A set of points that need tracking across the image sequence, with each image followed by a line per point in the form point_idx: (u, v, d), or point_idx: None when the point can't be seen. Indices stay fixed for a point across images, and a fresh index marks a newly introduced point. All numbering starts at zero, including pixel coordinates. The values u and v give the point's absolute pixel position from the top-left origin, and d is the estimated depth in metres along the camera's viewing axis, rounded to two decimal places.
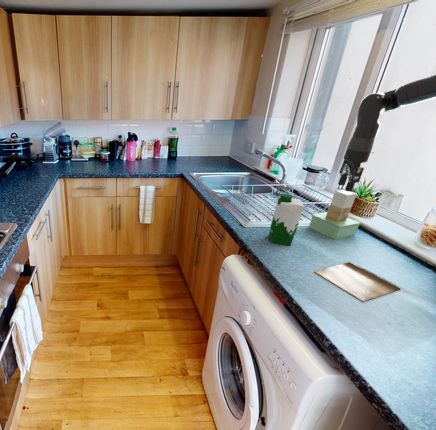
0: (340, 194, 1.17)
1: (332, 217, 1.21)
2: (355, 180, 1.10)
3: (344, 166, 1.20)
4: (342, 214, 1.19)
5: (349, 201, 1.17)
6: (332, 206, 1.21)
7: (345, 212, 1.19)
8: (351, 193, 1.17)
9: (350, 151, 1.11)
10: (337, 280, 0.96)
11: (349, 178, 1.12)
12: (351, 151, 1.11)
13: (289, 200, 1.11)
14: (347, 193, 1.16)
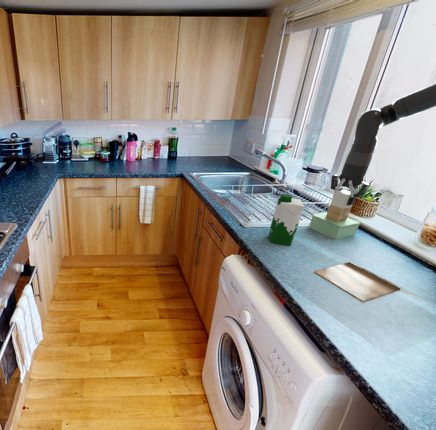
0: (340, 194, 1.17)
1: (332, 217, 1.21)
2: (360, 195, 1.13)
3: (335, 181, 1.21)
4: (342, 214, 1.19)
5: None
6: (332, 206, 1.21)
7: (345, 212, 1.19)
8: None
9: (356, 167, 1.10)
10: (337, 280, 0.96)
11: (352, 193, 1.14)
12: (357, 167, 1.10)
13: (289, 200, 1.11)
14: (347, 193, 1.16)
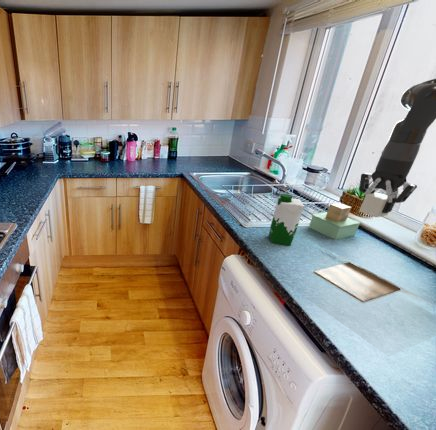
0: (373, 198, 0.89)
1: (332, 217, 1.21)
2: (402, 200, 0.85)
3: (365, 181, 0.93)
4: (342, 214, 1.19)
5: None
6: (332, 206, 1.21)
7: (345, 212, 1.19)
8: None
9: (397, 162, 0.83)
10: (337, 280, 0.96)
11: (391, 198, 0.87)
12: (399, 162, 0.82)
13: (289, 200, 1.11)
14: (383, 197, 0.89)
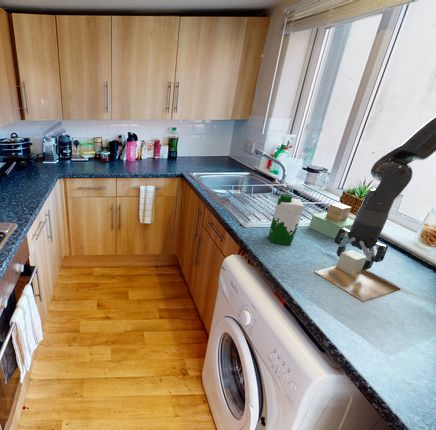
0: (347, 257, 0.99)
1: (332, 217, 1.21)
2: (380, 260, 0.92)
3: (341, 235, 1.02)
4: (342, 214, 1.19)
5: (358, 266, 0.98)
6: (332, 206, 1.21)
7: (345, 212, 1.19)
8: (361, 256, 0.98)
9: (368, 227, 0.91)
10: (337, 280, 0.96)
11: (369, 256, 0.94)
12: (370, 227, 0.91)
13: (289, 200, 1.11)
14: (356, 257, 0.98)
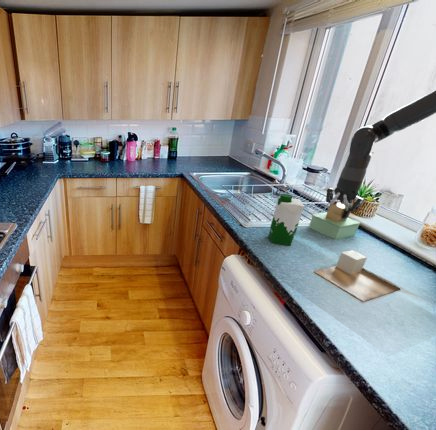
0: (347, 257, 0.99)
1: (332, 217, 1.21)
2: (355, 209, 1.15)
3: (330, 194, 1.23)
4: (342, 214, 1.19)
5: (358, 266, 0.98)
6: (332, 206, 1.21)
7: None
8: (361, 256, 0.98)
9: (350, 181, 1.13)
10: (337, 280, 0.96)
11: (347, 207, 1.17)
12: (351, 182, 1.13)
13: (289, 200, 1.11)
14: (356, 257, 0.98)
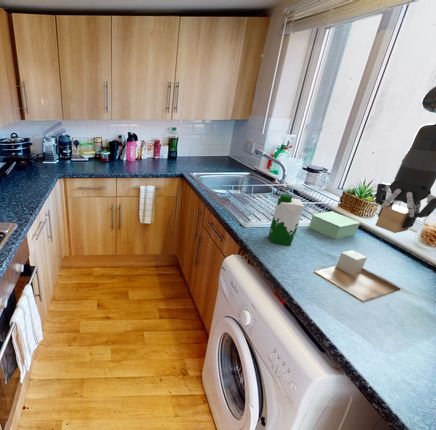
0: (347, 257, 0.99)
1: (386, 226, 0.81)
2: None
3: (382, 192, 0.83)
4: (403, 221, 0.79)
5: (358, 266, 0.98)
6: (387, 210, 0.81)
7: None
8: (361, 256, 0.98)
9: (420, 172, 0.73)
10: (337, 280, 0.96)
11: (412, 212, 0.77)
12: (423, 172, 0.73)
13: (289, 200, 1.11)
14: (356, 257, 0.98)
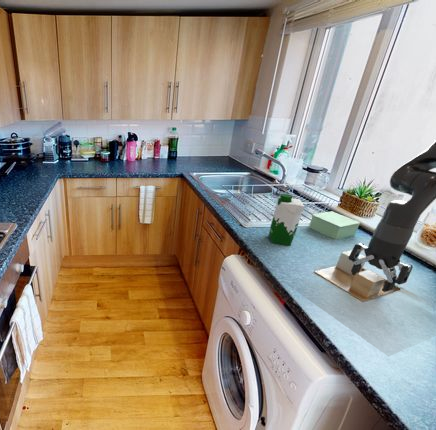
0: (347, 257, 0.99)
1: (359, 291, 0.89)
2: (403, 281, 0.81)
3: (357, 252, 0.90)
4: (374, 288, 0.87)
5: None
6: (359, 276, 0.89)
7: (377, 286, 0.87)
8: (361, 256, 0.98)
9: (390, 244, 0.80)
10: (337, 280, 0.96)
11: (390, 277, 0.83)
12: (392, 245, 0.80)
13: (289, 200, 1.11)
14: None
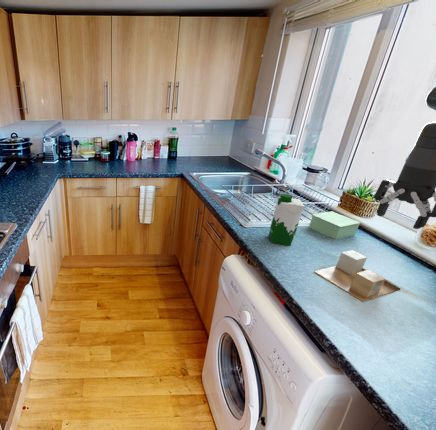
0: (347, 257, 0.99)
1: (359, 291, 0.89)
2: None
3: (384, 189, 0.82)
4: (374, 288, 0.87)
5: (358, 266, 0.98)
6: (359, 276, 0.89)
7: (377, 286, 0.87)
8: (361, 256, 0.98)
9: (425, 171, 0.71)
10: (337, 280, 0.96)
11: (424, 211, 0.74)
12: (427, 171, 0.71)
13: (289, 200, 1.11)
14: (356, 257, 0.98)
